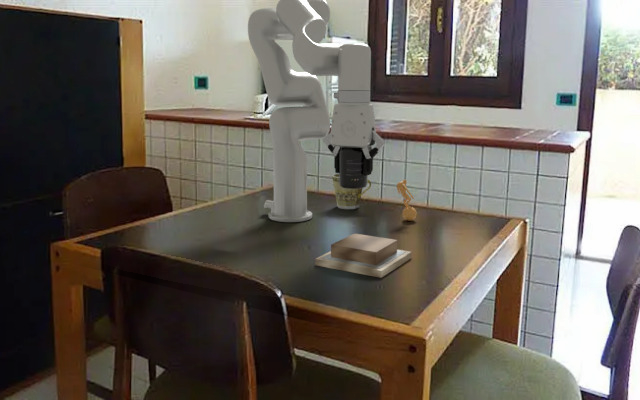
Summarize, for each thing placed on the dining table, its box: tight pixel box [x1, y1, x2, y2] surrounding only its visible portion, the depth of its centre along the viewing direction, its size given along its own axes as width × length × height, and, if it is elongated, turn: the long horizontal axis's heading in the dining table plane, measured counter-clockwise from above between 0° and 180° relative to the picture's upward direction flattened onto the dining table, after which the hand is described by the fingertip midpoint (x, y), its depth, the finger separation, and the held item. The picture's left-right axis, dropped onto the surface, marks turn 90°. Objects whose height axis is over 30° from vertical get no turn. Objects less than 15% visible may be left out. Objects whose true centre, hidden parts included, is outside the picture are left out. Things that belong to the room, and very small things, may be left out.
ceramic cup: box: [331, 173, 372, 210], centre depth 193 cm, size 13×10×10 cm
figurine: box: [396, 179, 418, 222], centre depth 177 cm, size 8×6×12 cm
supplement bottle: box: [339, 147, 368, 189], centre depth 150 cm, size 7×7×12 cm
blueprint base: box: [314, 233, 413, 279], centre depth 141 cm, size 16×16×4 cm
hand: (353, 173), depth 150 cm, fingers closed on supplement bottle, 6 cm apart
